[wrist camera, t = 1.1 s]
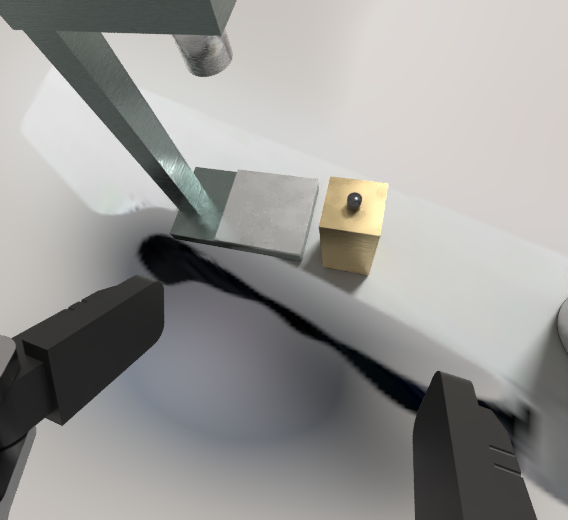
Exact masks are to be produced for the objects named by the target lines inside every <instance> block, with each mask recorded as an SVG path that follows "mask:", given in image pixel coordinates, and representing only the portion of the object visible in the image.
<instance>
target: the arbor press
mask: <svg viewBox="0 0 568 520" xmlns="http://www.w3.org/2000/svg"><path fill="white" fill-rule="evenodd" d="M235 2H236V0H0V15H1V17H3V19H4V20H5V21H6V22H7V23H8V24H9V25H10V27H11V28H12V29H14V30H23V31H24V32H25V33H26V34H27V35H28V36H29V38H30V39H31V40H32V41H33V42H34V44H35V45H36V46H37V47H38V48H39V49H40V50H41V52H42V53H43V54H44V55H45V56H46V57H47V58H48V60H49V61H50V62H51V63H52V64H53V65H54V66H55V68H56V69H57V70H58V71H59V72H60V73H61V75H62V76H63V77H64V78H65V79H66V80H67V81H68V83H69V84H70V85H71V86H72V87H73V88H74V89H75V91H76V92H77V93H78V94H79V95H80V96H81V97H82V99H83V100H84V101H85V102H86V103H87V104H88V106H89V107H90V108H91V109H92V110H93V111H94V112H95V114H96V115H97V116H98V117H99V118H100V119H101V120H102V122H103V123H104V124H105V125H106V126H107V127H108V128H109V130H110V131H111V132H112V133H113V134H114V135H115V137H116V138H117V139H118V140H119V141H120V142H121V143H122V145H123V146H124V147H125V148H126V149H127V150H128V151H129V153H130V154H131V155H132V156H133V157H134V158H135V159H136V161H137V162H138V163H139V164H140V165H141V166H142V168H143V169H144V170H145V171H146V172H147V173H148V174H149V176H150V177H151V178H152V179H153V180H154V181H155V182H156V184H157V185H158V186H159V187H160V188H161V189H162V190H163V192H164V193H165V194H166V195H167V196H168V197H169V198H170V200H171V201H172V202H173V203H174V204H175V205H176V207H177V208H178V209H179V212H178V214H177V217H176V219H175V222H174V225H173V227H172V230H171V232H170V234H171V235H172V236H173V237H174V238H175V239H178V240H184V241H190V242H196V243H201V244H207V245H213V246H218V247H223V248H229V249H235V250H240V251H246V252H252V253H257V254H263V255H268V256H274V257H280V258H285V259H291V260H297V261H302V258H303V253H304V249H305V245H306V241H307V237H308V232H309V228H310V224H311V220H312V216H313V211H314V207H315V203H316V199H317V195H318V190H319V186H318V179H312V178H303V177H295V176H287V175H279V174H271V173H262V172H254V171H246V170H238V171H237V172H232V171H224V170H216V169H207V168H199V167H196V168H195V170H194V173H193V172H192V170H191V169H190V167H189V166H188V164H187V163H186V161H185V160H184V158H183V157H182V155H181V153H180V152H179V150H178V149H177V147H176V146H175V144H174V143H173V141H172V140H171V138H170V137H169V135H168V134H167V132H166V131H165V129H164V128H163V126H162V125H161V123H160V122H159V120H158V119H157V117H156V116H155V114H154V112H153V111H152V109H151V108H150V106H149V105H148V103H147V102H146V100H145V99H144V97H143V96H142V94H141V93H140V91H139V90H138V88H137V87H136V85H135V84H134V82H133V81H132V79H131V78H130V76H129V75H128V73H127V72H126V70H125V69H124V67H123V65H122V64H121V62H120V61H119V60H118V58H117V56H116V55H115V53H114V52H113V50H112V49H111V47H110V46H109V44H108V43H107V41H106V40H105V38H104V37H103V35H102V34H101V32H108V33H110V32H111V33H142V34H144V33H145V34H172V36H173V38H174V41H175V43H176V45H177V47H178V49H179V51H180V53H181V56H182V58H183V60H184V62H185V64H186V67H187V69H188V70H189V72H190V73H192V74H193V75H195V76H199V77H208V76H212V75H215V74H218V73H219V72H221V71H223V70H224V69H225V68H226V67H227V66H228V65H229V64H230V62H231V60H232V56H233V54H232V50H231V46H230V43H229V40H228V37H227V34H226V30H225V26H226V24H227V22H228V19H229V17H230V14H231V12H232V10H233V7H234V5H235Z"/></svg>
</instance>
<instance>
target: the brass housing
mask: <svg viewBox="0 0 568 520" xmlns="http://www.w3.org/2000/svg"><path fill="white" fill-rule="evenodd" d="M387 190H388V183H380V182H371V181H363V180H355V179H346V178H338V177H330V181H329V185H328V189H327V194H326V198H325V202H324V207H323V211H322V216H321V220H320V224H319V232H320V242H321V252H322V262H323V267H326V268H331V269H337V270H342V271H348V272H353V273H359V274H365V275H369V272H370V269H371V265H372V262H373V259H374V255H375V252H376V248H377V245H378V241H379V238H380V233H381V227H382V221H383V215H384V208H385V202H386V196H387Z"/></svg>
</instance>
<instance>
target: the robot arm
mask: <svg viewBox="0 0 568 520" xmlns="http://www.w3.org/2000/svg"><path fill="white" fill-rule="evenodd" d="M163 328H164V288H163V285H162V283H161V282H158V281H155V280H152V279H149V278H146V277H142V276H139V275H136V276H133V277H131V278H130V279H128V280H126V281H124V282H123V283H121V284H119V285H117V286H113V287H110V288H107V289H103V290H100V291H97V292H95V293H94V294H91V295H90V296H88V297H86V298H84V299H82V301H81V302H77V303H75V304H73V305H71V306H70V307H69V308H68V309H64V310H62V311H60V312H59V313H57V314H55V315H53V316H51V317H49V318H48V319H46V320H44V321H42V322H40V323H38V324H37V325H35V326H33V327H31V328H29V329H28V330H26V331H24V332H22V333H20V334H19V335H17V336H15V337H13V338H9V337H6V336H1V335H0V520H8V516H9V511H10V508H11V505H12V502H13V499H14V496H15V494H16V491H17V488H18V485H19V482H20V479H21V476H22V474H23V471H24V468H25V465H26V462H27V459H28V456H29V453H30V451H31V448H32V445H33V442H34V439H35V436H36V426H35V425H37V424H38V423H39V422H40V421H41V420H43V419H44V418H47V419H49V420H51V421H53V422H55V423H57V424H59V425H61V426H63V425H64V424H65V423H66V422H67V421H68V420H69V419H70V418H72V417H73V416H74V415H75V414H76V413H77V412H78V411H79V410H81V409H82V408H83V407H84V406H85V405H86V404H87V403H89V402H90V401H91V400H92V399H93V398H94V397H95V396H97V395H98V393H100V392H101V391H102V390H103V389H104V388H105V387H106V386H108V385H109V384H110V383H111V382H112V381H113V380H115V379H116V378H117V377H118V376H119V375H120V374H121V373H122V372H123V371H125V370H126V369H127V368H128V367H129V366H130V365H131V364H133V363H134V362H135V361H136V360H137V359H138V358H139V357H140V356H142V355H143V354H144V353H145V352H146V351H147V350H148V349H150V348H151V347H152V346H153V345H154V344H155V343H156V342H157V341H158V339H159V338H160V336H161V334H162V331H163ZM558 331H559V336H560V338H561V341H562V344H563V346H564V347H565V349H566V351H567V352H568V298H567V300H566V301H565V302H564V304H563V305H562V307H561V309H560V312H559V314H558ZM514 454H515V453H514V450H513V447H512V444H511V441H510V438H509V435H508V433H507V431H506V429H505V428H504V427H503V425H502V424H501V423H500V421H499V420H498V419H497V417H496V416H495V414H494V413H493V412H492V410H490V409H487V408H484V407H480V406H478V402H477V398H476V395H475V391H474V387H473V384H472V383H471V381H469V380H466V379H463V378H460V377H456V376H454V375H450V374H447V373H444V372H440V371H437V372H436V373H435V374H434V376H433V378H432V381H431V383H430V385H429V387H428V390H427V392H426V394H425V397H424V399H423V401H422V404H421V406H420V408H419V410H418V413H417V416H416V419H415V423H414V429H413V466H414V499H415V520H537V518H536V515H535V512H534V509H533V506H532V503H531V500H530V497H529V494H528V491H527V488H526V485H525V483H524V480H523V478H522V477H521V471H520V468H519V465H518V462H517V459H516V458H515V457H514Z"/></svg>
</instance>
